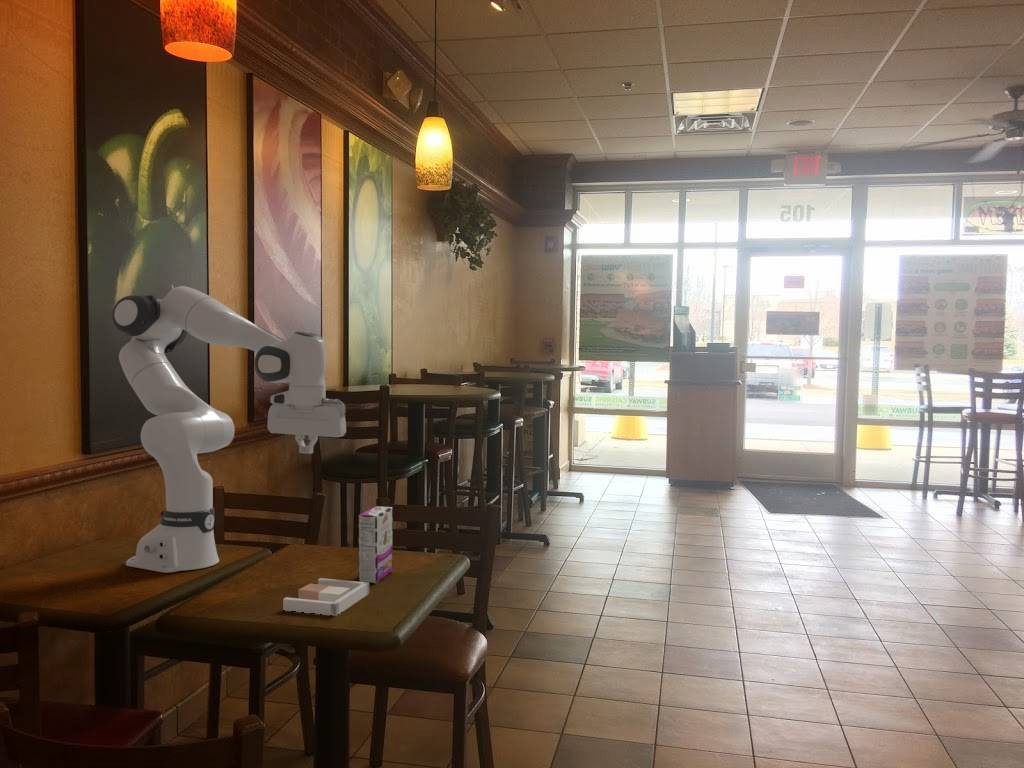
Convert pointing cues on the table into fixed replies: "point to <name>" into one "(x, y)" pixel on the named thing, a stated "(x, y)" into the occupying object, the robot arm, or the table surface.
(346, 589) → the cream tile
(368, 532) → the candy bar box
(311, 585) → the terracotta tile
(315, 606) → the box
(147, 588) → the table surface
